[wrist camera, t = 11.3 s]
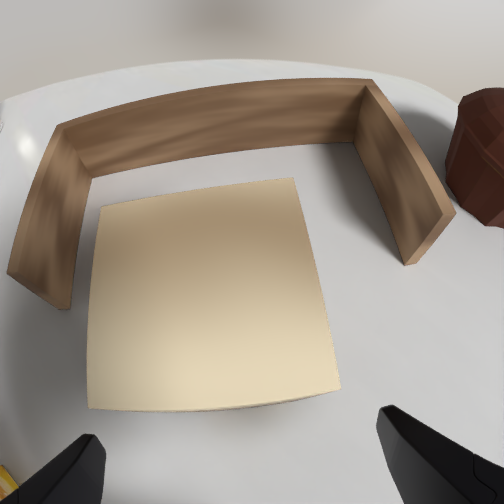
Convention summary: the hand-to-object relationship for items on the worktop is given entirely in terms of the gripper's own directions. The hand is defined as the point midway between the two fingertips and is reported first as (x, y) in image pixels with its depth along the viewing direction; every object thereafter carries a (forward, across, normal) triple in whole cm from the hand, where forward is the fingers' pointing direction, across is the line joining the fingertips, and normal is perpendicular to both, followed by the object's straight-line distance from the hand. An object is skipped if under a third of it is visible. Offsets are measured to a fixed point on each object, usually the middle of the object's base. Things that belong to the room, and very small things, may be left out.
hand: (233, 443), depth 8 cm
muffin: (+16, -23, -4) cm, 29 cm away
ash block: (+8, 0, +3) cm, 9 cm away
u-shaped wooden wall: (+16, 0, -5) cm, 17 cm away
